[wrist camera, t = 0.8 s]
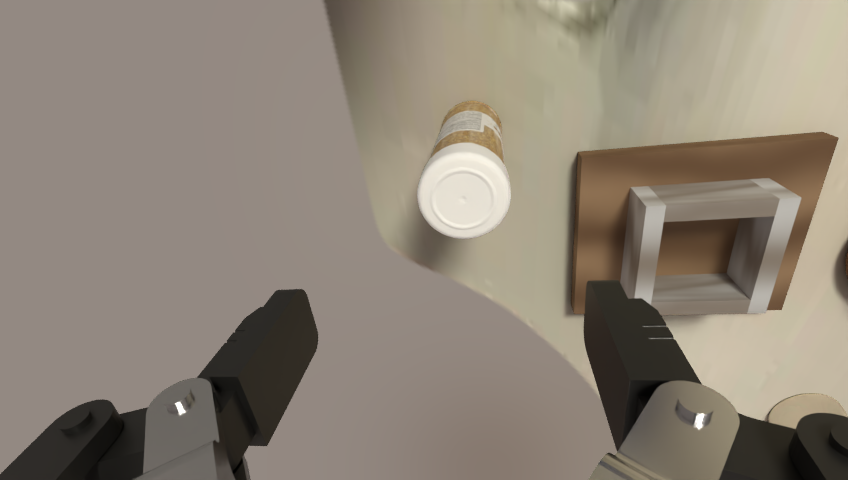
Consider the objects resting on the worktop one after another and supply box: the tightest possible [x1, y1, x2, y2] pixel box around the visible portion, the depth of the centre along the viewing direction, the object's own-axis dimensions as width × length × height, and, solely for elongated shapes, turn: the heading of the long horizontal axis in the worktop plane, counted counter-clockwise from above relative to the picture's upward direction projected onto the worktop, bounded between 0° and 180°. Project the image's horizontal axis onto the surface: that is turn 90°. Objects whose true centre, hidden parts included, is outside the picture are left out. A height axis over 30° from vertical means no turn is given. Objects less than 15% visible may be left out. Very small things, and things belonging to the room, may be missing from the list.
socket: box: [571, 132, 838, 315], centre depth 31 cm, size 14×16×5 cm
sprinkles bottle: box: [417, 101, 511, 239], centre depth 26 cm, size 5×5×13 cm
